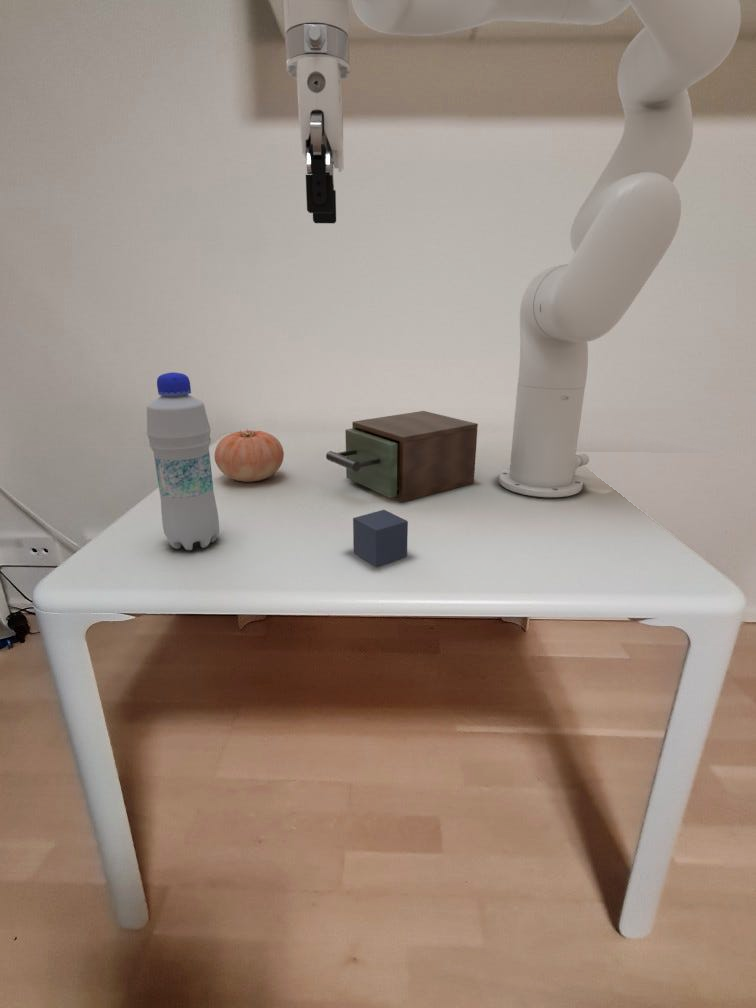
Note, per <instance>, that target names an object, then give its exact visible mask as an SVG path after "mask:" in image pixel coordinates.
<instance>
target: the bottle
mask: <svg viewBox="0 0 756 1008" xmlns="http://www.w3.org/2000/svg"><path fill="white" fill-rule="evenodd" d="M156 388H157V393H158V396H159V397H157V398H156V399H154V400H152V401H151V402H149V403H148V404H147V405H146V436H147V437H148V441H149V443H148V446H149V447H150V449H151V450H152V452H153V458H154V464H155V465H154V466H155V471H156V478H157V484H158V490H159V491H158V492H159V496H160V509H161V523H162V529H163V533H164V535H165V537H166V540H167V542H168V544H169V545H170V546H171V547H172V548H173V549H176V550H177V549H181V547H182V546H183V549H185V551H192V550H193V548H194V543H196V542H199V546H200V547H201V548H203V549H204V548H207V547H208V546H209V545H210V543H214V542H215V541H216V540H217V539H218V537H219V533H220V521H219V520H220V519H219V512H218V506H217V502H216V496H215V491H214V481H213V480H214V479H213V472H212V464H211V454H210V445H211V441H212V438H211V430H212V429H211V426H210V423H209V418H208V415H207V410H206V407H205V404H204V402H203V401H202V400H201V399H198V398H196V397H194V396H192V395H190V394H192V388H191V381H190V378H189V376H188V375H186V374H185V373H182V372H181V373H180V372H175V371H174V372H172V371H171V372H167V373H162V374H160V375H159V376H158V377H157V379H156Z"/></svg>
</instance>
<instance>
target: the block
mask: <svg viewBox="0 0 756 1008" xmlns="http://www.w3.org/2000/svg"><path fill="white" fill-rule="evenodd" d="M408 526H409V521H408V520H406V519H404V518H402V517H400V516H398V515H396V514H394V513H392V512H391V511H388V510H386V509H381V510H377V511H373V512H369V513H366V514H363V515H359V516H355V517H353V518H352V533H353V536H352V537H353V539H352V540H353V541H352V542H353V545H352V546H353V554H354V555H356V556H357V557H358V558H360V559H362V560H363V561H365V562H366V563H368V564H370V565H372V566H373V567H375V568H378V567H381V566H384V565H387V564H390V563H393V562H396V561H399V560H402V559H404V558H407V557H408V535H409V534H408V532H409V531H408V530H409V528H408Z"/></svg>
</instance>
